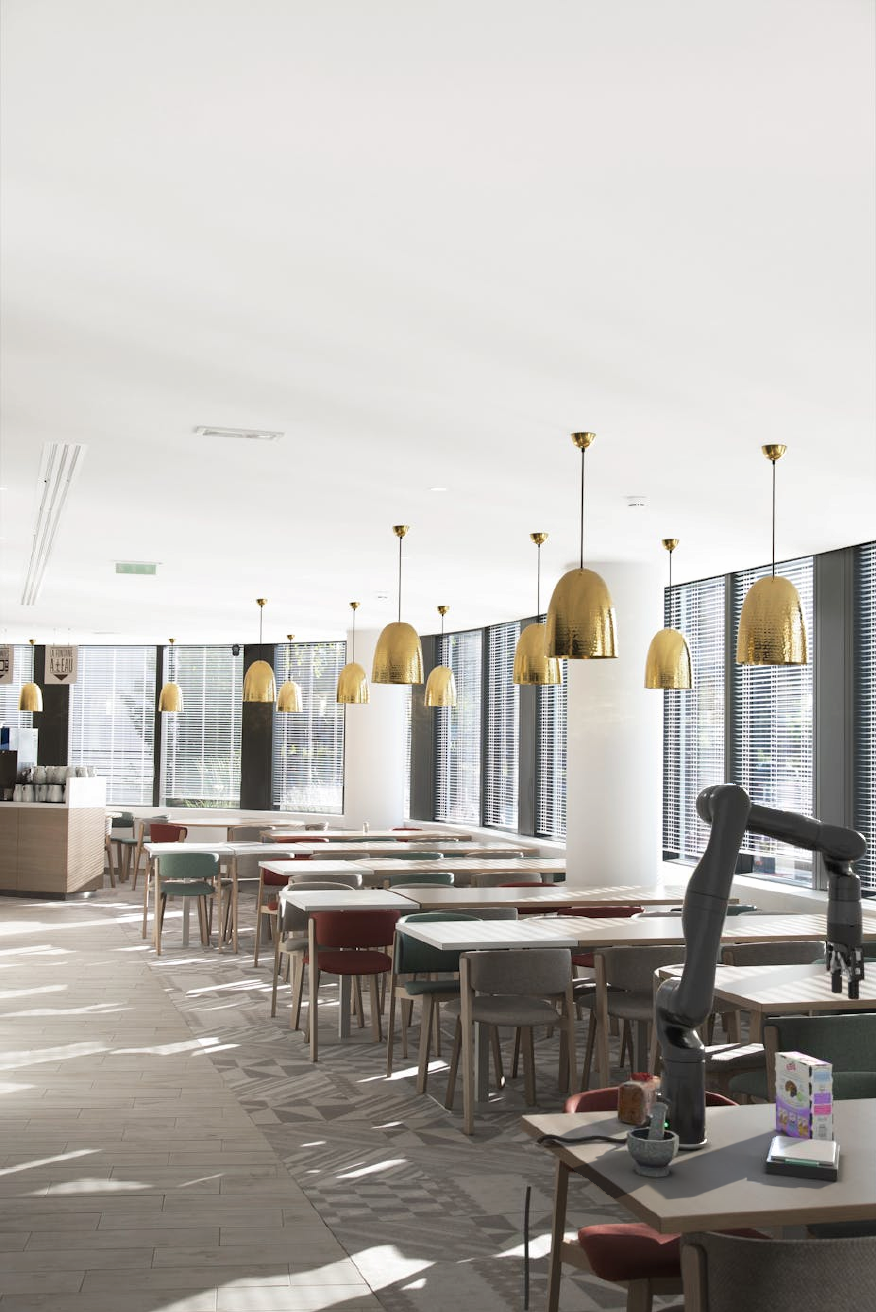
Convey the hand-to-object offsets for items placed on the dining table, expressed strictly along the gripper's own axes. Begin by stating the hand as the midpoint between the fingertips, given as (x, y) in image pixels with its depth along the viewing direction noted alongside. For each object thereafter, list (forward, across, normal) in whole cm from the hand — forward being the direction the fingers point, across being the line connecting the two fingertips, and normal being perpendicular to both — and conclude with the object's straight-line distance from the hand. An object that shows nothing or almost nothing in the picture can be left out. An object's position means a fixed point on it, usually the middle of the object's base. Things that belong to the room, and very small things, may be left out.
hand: (845, 996), depth 275 cm
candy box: (+29, +4, -11) cm, 31 cm away
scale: (+29, +23, -19) cm, 42 cm away
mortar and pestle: (+29, +26, -50) cm, 64 cm away
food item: (+29, -13, -42) cm, 52 cm away
